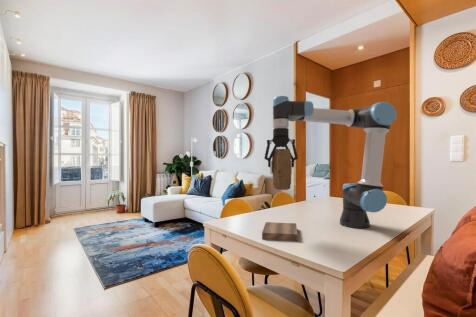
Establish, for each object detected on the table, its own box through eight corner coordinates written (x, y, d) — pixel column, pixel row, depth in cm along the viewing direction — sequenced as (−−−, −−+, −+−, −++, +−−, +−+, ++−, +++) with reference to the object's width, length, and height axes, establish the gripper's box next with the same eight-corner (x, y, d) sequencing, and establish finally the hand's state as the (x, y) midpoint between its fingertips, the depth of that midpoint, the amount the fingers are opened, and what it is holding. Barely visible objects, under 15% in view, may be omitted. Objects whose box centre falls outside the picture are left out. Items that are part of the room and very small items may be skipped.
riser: (296, 229, 130) (296, 223, 130) (297, 241, 112) (297, 234, 112) (265, 227, 134) (265, 222, 134) (262, 239, 115) (262, 232, 115)
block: (292, 190, 117) (292, 148, 117) (277, 190, 116) (277, 148, 116) (284, 187, 128) (284, 148, 128) (270, 187, 127) (270, 148, 127)
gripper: (258, 128, 120) (258, 174, 121) (303, 126, 116) (304, 174, 116) (259, 129, 128) (260, 173, 128) (302, 128, 124) (303, 173, 124)
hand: (281, 173), depth 122 cm, fingers closed on block, 9 cm apart
